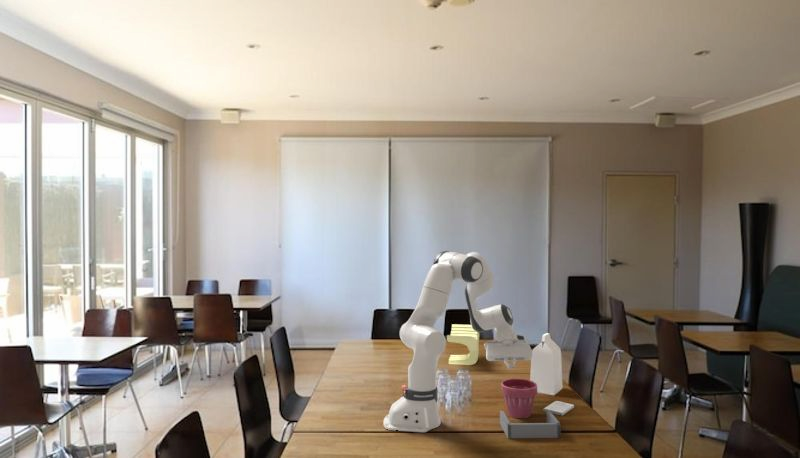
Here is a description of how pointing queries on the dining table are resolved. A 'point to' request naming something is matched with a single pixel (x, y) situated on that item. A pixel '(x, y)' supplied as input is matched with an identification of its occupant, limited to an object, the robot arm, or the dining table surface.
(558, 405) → the external hard drive
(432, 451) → the dining table surface
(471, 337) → the slatted curved stool
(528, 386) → the plant pot
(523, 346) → the robot arm
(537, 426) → the frame
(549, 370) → the milk
